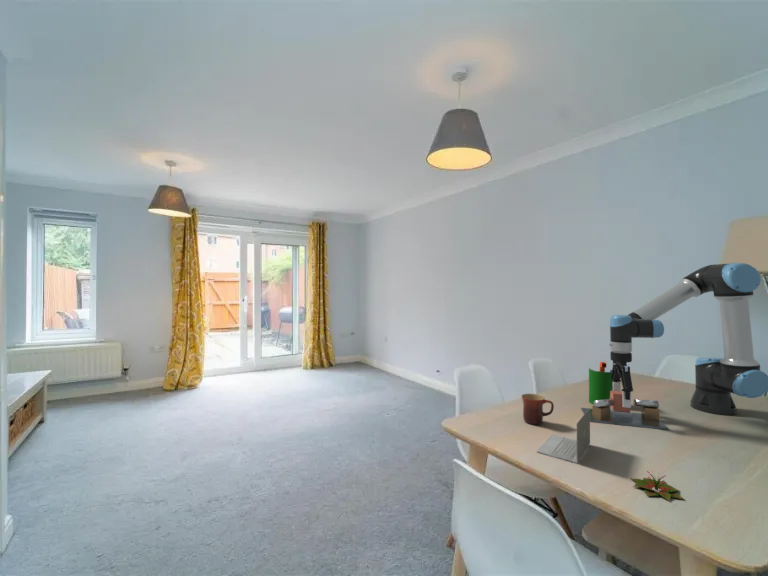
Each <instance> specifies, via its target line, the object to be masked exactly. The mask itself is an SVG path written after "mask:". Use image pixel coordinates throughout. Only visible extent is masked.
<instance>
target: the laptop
mask: <svg viewBox="0 0 768 576" xmlns="http://www.w3.org/2000/svg"><path fill="white" fill-rule="evenodd" d="M590 409H591V408H589V409H588V410H587V412H586V413H585V414H584V413H583V415H582V416H581V418H580V419H579V420H578V422H576V439H573V438H569V437H565V436H562V435H558V434H553V433H552V434H551V435H550V436H549V437H548V438H547V439H546V440H545V442H543V443H542V445H540V446H539V448H538V449H537V450H536V452H537V453H540V454H542V455H545V456H548V457H552V458H556V459H558V460H561V461H564V462H569V463H573V464H575V465H578V464H579V462H580V461H581V460H582V458H583V456H584V455H585V454H586V451H588V449H589V446H590V445H591V444H590V443H591V422H590Z"/></svg>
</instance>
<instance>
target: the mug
mask: <svg viewBox="0 0 768 576" xmlns="http://www.w3.org/2000/svg"><path fill="white" fill-rule="evenodd" d="M545 398H546V397H544V396H542V395H540V394H537V393H524V394H521V399H522V403H523V404H522V407H523V408H522V414H523V415H522V417H523V420H524V422H525V423H527V424H529V425H534V426H535V425H536V426H538V425H541V424H542V423H543V421H544V417H549V416H550V415H551V414H553V411H554V409H555V408H554V406H555V405H554V402H553V401H552V400H549V399H545ZM547 403H549V404H550V410H549V411H548V412H544V410H543V409H544V407H543V406H544V404H547Z"/></svg>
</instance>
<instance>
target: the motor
mask: <svg viewBox="0 0 768 576" xmlns="http://www.w3.org/2000/svg"><path fill="white" fill-rule="evenodd" d="M605 368H606V369H607V362H606V361H600V362H599V370H598V371H597V370H594V369H591V368H588V402H589V403H590V404H592V405H594V401H595V400H604V399H609V397H610V391H613V381H612V379H611V375H612V369H610V371H606V369H605ZM607 407H609V408H610V406H607Z"/></svg>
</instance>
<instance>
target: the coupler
mask: <svg viewBox="0 0 768 576" xmlns="http://www.w3.org/2000/svg"><path fill="white" fill-rule="evenodd" d="M609 399H613V400H614V402H615V404H614V405H613V406H610V407H611V408H612V409H613V410H615V411H626V412H630V411H631V408H627V407H623V391H621V390H620V391H610V397H609ZM610 407H609V408H610Z"/></svg>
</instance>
